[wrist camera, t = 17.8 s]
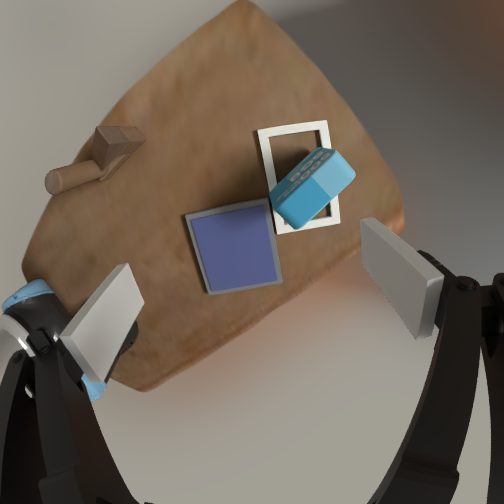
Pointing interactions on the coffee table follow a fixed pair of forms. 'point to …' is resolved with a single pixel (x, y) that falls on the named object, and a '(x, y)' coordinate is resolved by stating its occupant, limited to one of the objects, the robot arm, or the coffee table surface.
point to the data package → (310, 186)
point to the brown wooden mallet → (97, 159)
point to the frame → (271, 175)
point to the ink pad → (236, 246)
